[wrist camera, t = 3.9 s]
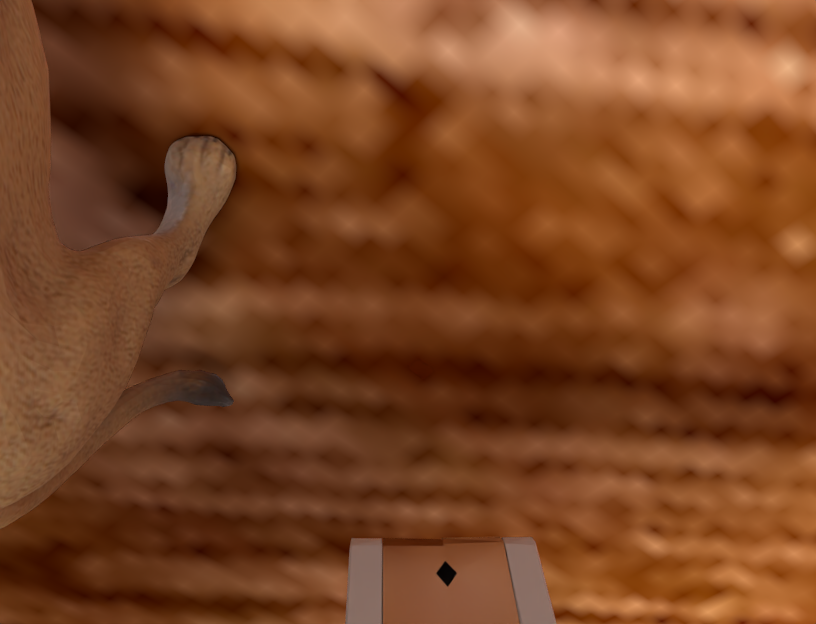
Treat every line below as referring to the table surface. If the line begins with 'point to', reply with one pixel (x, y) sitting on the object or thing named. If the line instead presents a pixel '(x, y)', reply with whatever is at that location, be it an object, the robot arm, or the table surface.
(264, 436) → the table surface
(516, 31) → the table surface
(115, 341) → the lion figurine
